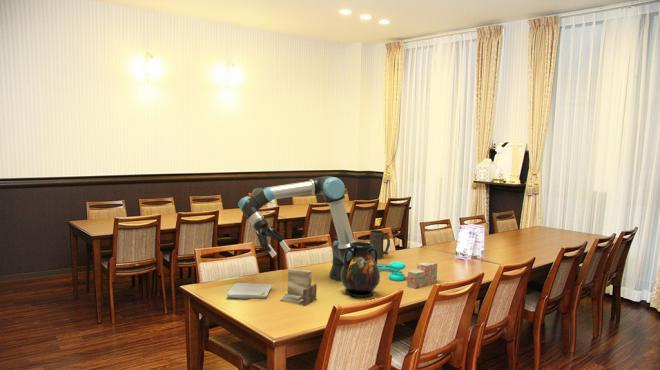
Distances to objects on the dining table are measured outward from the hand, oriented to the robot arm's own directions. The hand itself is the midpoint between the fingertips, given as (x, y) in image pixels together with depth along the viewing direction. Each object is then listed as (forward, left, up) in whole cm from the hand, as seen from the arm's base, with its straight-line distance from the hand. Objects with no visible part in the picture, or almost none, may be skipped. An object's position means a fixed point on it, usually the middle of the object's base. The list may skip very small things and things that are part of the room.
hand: (281, 253), depth 259 cm
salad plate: (+16, -4, -24) cm, 29 cm away
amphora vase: (-43, -6, -24) cm, 49 cm away
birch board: (-10, +5, -22) cm, 25 cm away
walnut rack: (-9, +8, -23) cm, 26 cm away
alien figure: (-66, -59, -24) cm, 92 cm away
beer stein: (-68, -93, -24) cm, 118 cm away
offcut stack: (-7, +10, -22) cm, 26 cm away
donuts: (-70, -38, -24) cm, 83 cm away
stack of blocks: (-83, -27, -24) cm, 90 cm away
